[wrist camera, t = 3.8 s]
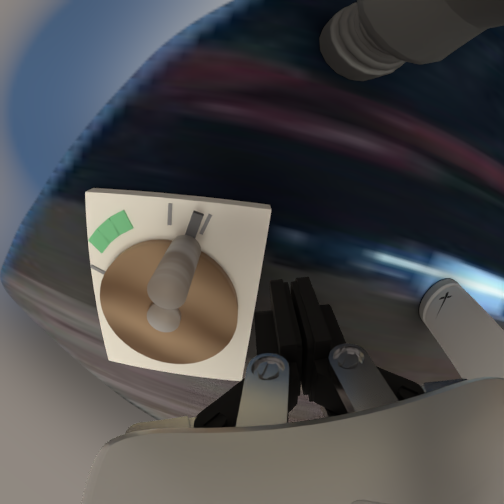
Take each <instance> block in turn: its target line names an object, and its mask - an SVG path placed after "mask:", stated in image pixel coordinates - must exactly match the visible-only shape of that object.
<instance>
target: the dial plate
mask: <svg viewBox="0 0 504 504" xmlns="http://www.w3.org/2000/svg"><path fill="white" fill-rule="evenodd" d="M85 199H86V220H87V234H88V245H89V255H90V264H91V267H90V268H91V272H92V279H93V286H94V292H95V298H96V304H97V310H98V315H99V320H100V325H101V330H102V334H103V339H104V343H105V347H106V351H107V355H108V359H109V361H114V362H118V363H123V364H127V365H132V366H137V367H142V368H147V369H152V370H158V371H164V372H170V373H176V374H183V375H189V376H197V377H205V378H213V379H222V380H233V381H241V380H242V376H243V370H244V365H245V359H246V354H247V348H248V343H249V337H250V332H251V326H252V321H253V315H254V309H255V304H256V298H257V292H258V286H259V281H260V275H261V269H262V263H263V257H264V251H265V245H266V239H267V234H268V228H269V222H270V216H271V207H270V205H267V204H260V203H252V202H244V201H236V200H227V199H219V198H210V197H200V196H190V195H180V194H169V193H158V192H146V191H133V190H119V189H102V188H92V189H90V190H88V191H86V192H85ZM194 210H195V211H197V212H200V213H203V214H204V216H203V219H202V221H201V224H200V227H199V229H198V232H197V235H196V238H195V239H196V240H197V241H198V243H199V244H200V247H201V251H202V252H204V253H205V254H207V255H208V256H210V257H211V258H212V259H213V260H215V261H216V262H217V263H218V264H219V265H220V266H221V267H222V268H223V270H224V271H225V272H226V273H227V275H228V276H229V278H230V280H231V281H232V284H233V286H234V288H235V291H236V295H237V300H238V320H237V327H236V331H235V333H234V336H233V338H232V339H231V341H230V342H229V344H228V345H227V346H226V347H225V348H224V349H223V350H222V351H221V352H219V353H218V354H216V355H215V356H213V357H211V358H209V359H207V360H204V361H201V362H197V363H191V364H171V363H165V362H160V361H157V360H154V359H151V358H148V357H146V356H144V355H142V354H140V353H138V352H136V351H135V350H133V349H132V348H130V347H129V346H128V345H126V344H125V343H124V342H123V341H122V340H121V339H120V338H119V337H118V336H117V335H116V334H115V333H114V331H113V330H112V329H111V327H110V326H109V324H108V322H107V320H106V318H105V316H104V314H103V311H102V307H101V303H100V286H101V281H102V279H103V276H104V274H105V272H106V270H107V269H108V267H109V266H110V265H111V264H112V262H113V261H114V260H115V259H116V258H117V257H118V256H119V254H121V253H122V252H123V251H124V250H126V249H127V248H129V247H131V246H132V245H135V244H137V243H140V242H144V241H148V240H172V241H173V239H174V238H176V237H177V236H180V235H185V233H186V230H187V227H188V224H189V222H190V219H191V216H192V213H193V211H194Z"/></svg>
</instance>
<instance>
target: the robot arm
mask: <svg viewBox="0 0 504 504" xmlns="http://www.w3.org/2000/svg"><path fill="white" fill-rule="evenodd" d="M270 299H271V311H260V312H255V329H256V346H257V356H256V357H254V358H252V360H251V361H250V362H249V363H248V366H247V369H246V375H245V378H244V379H243V380H241V381H240V382H239V383H238V384H237V385H235V386H234V387H233V388H231V389H230V390H229V391H228V392H226V393H225V394H224V395H223V396H221V397H220V398H219V399H217V400H216V401H215V402H213V403H212V404H211V405H209V406H208V407H207V408H205V409H204V410H203V411H201V412H200V413H199V414H198V415H197V417H192V418H188V416H183V417H177V418H170V419H163V420H156V421H148V422H140V423H136V424H133V425H132V426H130V427H129V428H128V429H127V431H126V433H125V434H124V435H121V436H118V437H116V438H113V439H111V440H110V441H109V442H107V443H106V444H105V445H104V446H103V447H102V448H101V449H100V451H99V452H98V454H97V456H96V458H95V460H94V462H93V465H92V467H91V470H90V473H89V476H88V479H87V483H86V486H85V490H84V494H83V498H82V503H81V504H504V378H500V377H480V378H474V379H469V380H468V379H455V380H447V381H438V382H428V383H423V385H422V386H420V385H419V384H417V383H415V382H413V381H411V380H408V379H406V378H403V377H401V376H398V375H396V374H393V373H391V372H388V371H386V370H384V369H381V368H379V367H376V366H375V364H374V363H373V361H372V360H371V358H370V357H369V355H368V354H367V352H366V351H365V350H364V349H363V348H362V347H360V346H358V345H355V344H348V343H346V342H345V340H344V337H343V335H342V332H341V330H340V327H339V325H338V322H337V320H336V318H335V315H334V313H333V310H332V308H331V306H330V305H329V304H328V305H320V306H319V303H318V300H317V298H316V295H315V292H314V290H313V287H312V284H311V282H310V279H309V277H302V278H296V279H295V282H291V294H290V290H289V286H288V282H285V283H283V280H282V279H281V280H270ZM301 384H302V390H303V394H304V395H308V396H309V400H310V402H311V401H314V402H316V403H317V404H319V405H321V410H322V413H323V416H324V418H320V419H314V420H307V421H300V422H292V423H288V416H289V412H290V411H291V410H292V409H293V408H294V407H295V406H296V405H297V400H298V396H300V387H301Z"/></svg>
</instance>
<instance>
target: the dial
mask: <svg viewBox="0 0 504 504" xmlns="http://www.w3.org/2000/svg"><path fill="white" fill-rule="evenodd" d="M203 216H204V214H203V213H200V212H197V211H195V210H194V211H193V213H192V216H191V219H190V222H189V224H188V227H187V230H186V233H185V235H180V236H177V237H176V238H174V239H173V241H172V240H148V241H144V242H140V243H137V244H135V245H132V246H131V247H129V248H127V249H126V250H124V251H123V252H122V253H121V254H119V256H118V257H117V258H116V259H115V260H114V261H113V262H112V264H111V265H110V266H109V267H108V269H107V270H106V272H105V274H104V276H103V279H102V281H101V286H100V303H101V307H102V311H103V314H104V316H105V318H106V320H107V322H108V324H109V326H110V327H111V329H112V330H113V331H114V333H115V334H116V335H117V336H118V337H119V338H120V339H121V340H122V341H123V342H124V343H125V344H126V345H128V346H129V347H130V348H132V349H133V350H135V351H136V352H138V353H140V354H142V355H144V356H146V357H148V358H151V359H154V360H157V361H160V362H165V363H171V364H191V363H197V362H201V361H204V360H207V359H209V358H211V357H213V356H215V355H216V354H218V353H219V352H221V351H222V350H223V349H224V348H225V347H226V346H227V345H228V344H229V342H230V341H231V339H232V338H233V336H234V333H235V331H236V327H237V320H238V300H237V295H236V291H235V288H234V286H233V284H232V281H231V280H230V278H229V276H228V275H227V273H226V272H225V271H224V270H223V268H222V267H221V266H220V265H219V264H218V263H217V262H216V261H215V260H213V259H212V258H211V257H210V256H208V255H207V254H205V253H204V252H202V251H201V247H200V244H199V243H198V241H197V240H196V239H195V238H196V235H197V232H198V229H199V227H200V224H201V221H202V219H203Z"/></svg>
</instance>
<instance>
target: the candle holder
mask: <svg viewBox="0 0 504 504" xmlns="http://www.w3.org/2000/svg"><path fill="white" fill-rule="evenodd" d="M503 25H504V0H357V3H353V4H351V5H350V6H349V7H344V8H343V9H342V10H340V11H339V12H338V13H336V14H335V15H334V16H333V17H332V18H331V19H330V21H329V22H328V23H327V24H326V25H325V26H324V28H323V30H322V32H321V35H320V37H319V42H320V51H321V53H322V55H323V57H324V59H325V61H326V63H327V64H328V65H329V66H330V67H331V68H332V69H333V70H334V71H335V72H336V73H338V74H340V75H342V76H344V77H346V78H348V79H350V80H357V81H366V80H369V79H373V78H376V77H380V76H383V75H387V74H390V73H392V72H393V71H395V70H396V69H397V68H399V67H401V66H402V65H403V64H404V63H405V62H406V61H407V62H411V63H415V64H420V65H421V64H426V63H432V62H437V61H441V60H442V59H444V58H445V57H446V56H448V55H449V54H451V53H452V52H453V51H455V50H456V49H458V48H459V47H460V46H462V45H463V44H465V43H466V42H468V41H469V40H471V39H472V38H474V37H475V36H477V35H478V34H480V33H481V32H483V31H484V30H486V29H488V28H492V27H497V26H503Z"/></svg>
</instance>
